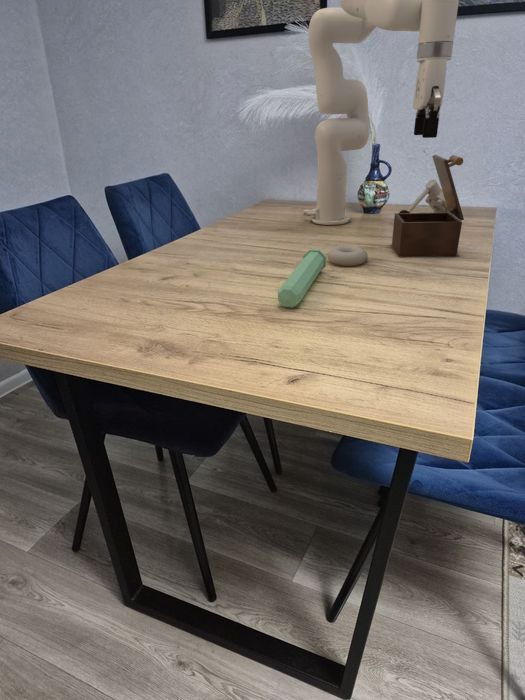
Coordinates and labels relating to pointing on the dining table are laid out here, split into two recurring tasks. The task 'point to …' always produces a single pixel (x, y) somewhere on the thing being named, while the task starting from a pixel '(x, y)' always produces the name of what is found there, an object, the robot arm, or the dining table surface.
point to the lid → (449, 183)
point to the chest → (426, 234)
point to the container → (301, 278)
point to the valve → (431, 198)
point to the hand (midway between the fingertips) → (424, 136)
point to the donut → (347, 255)
